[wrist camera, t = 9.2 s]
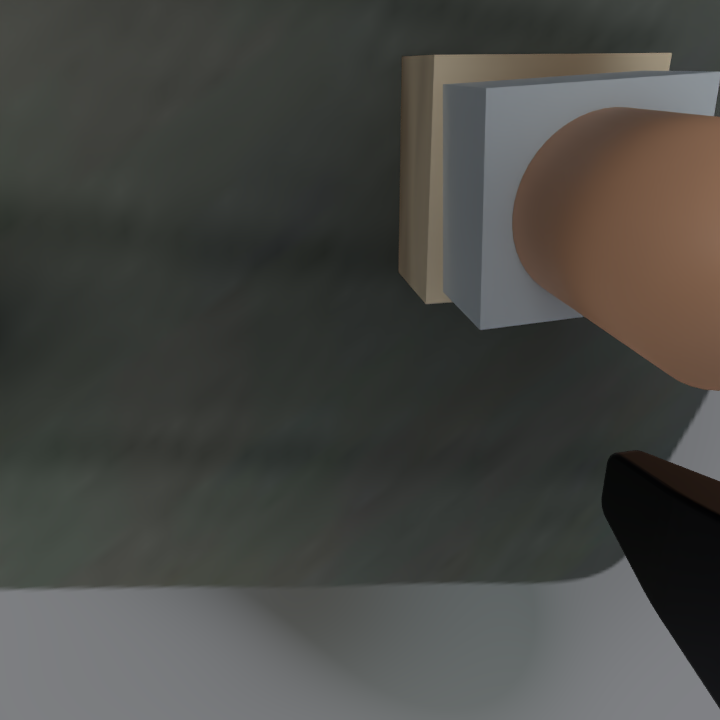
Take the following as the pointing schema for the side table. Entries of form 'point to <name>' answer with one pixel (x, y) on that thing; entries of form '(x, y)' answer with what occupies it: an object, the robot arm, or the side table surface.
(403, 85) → the oak base block
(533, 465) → the side table surface
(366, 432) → the side table surface
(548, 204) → the terracotta rounded cylinder
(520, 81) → the grey-blue top block
